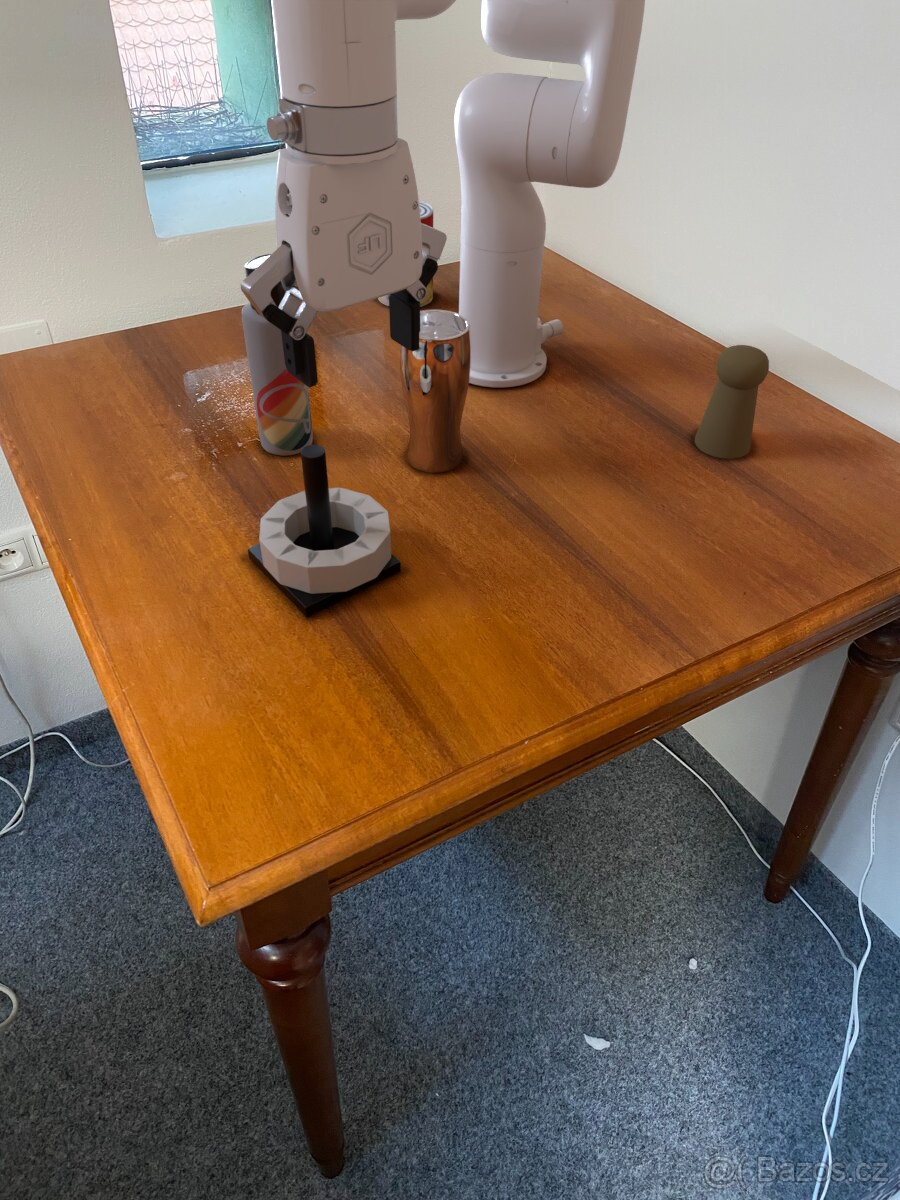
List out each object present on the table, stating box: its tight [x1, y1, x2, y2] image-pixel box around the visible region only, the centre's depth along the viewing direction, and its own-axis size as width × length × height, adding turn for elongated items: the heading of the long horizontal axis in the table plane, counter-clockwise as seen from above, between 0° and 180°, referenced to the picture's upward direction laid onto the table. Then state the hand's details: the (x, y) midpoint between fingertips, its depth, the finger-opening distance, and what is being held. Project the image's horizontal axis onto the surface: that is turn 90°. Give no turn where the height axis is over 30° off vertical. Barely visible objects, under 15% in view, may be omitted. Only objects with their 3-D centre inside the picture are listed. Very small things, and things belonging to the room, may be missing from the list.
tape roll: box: [258, 487, 392, 594], centre depth 79 cm, size 11×11×3 cm
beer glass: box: [399, 309, 471, 474], centre depth 88 cm, size 7×7×15 cm
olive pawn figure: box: [694, 344, 770, 460], centre depth 93 cm, size 6×6×11 cm
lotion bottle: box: [241, 253, 314, 457], centre depth 88 cm, size 6×6×20 cm
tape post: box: [247, 444, 402, 618], centre depth 76 cm, size 10×10×12 cm
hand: (355, 361), depth 70 cm, fingers open, 9 cm apart
